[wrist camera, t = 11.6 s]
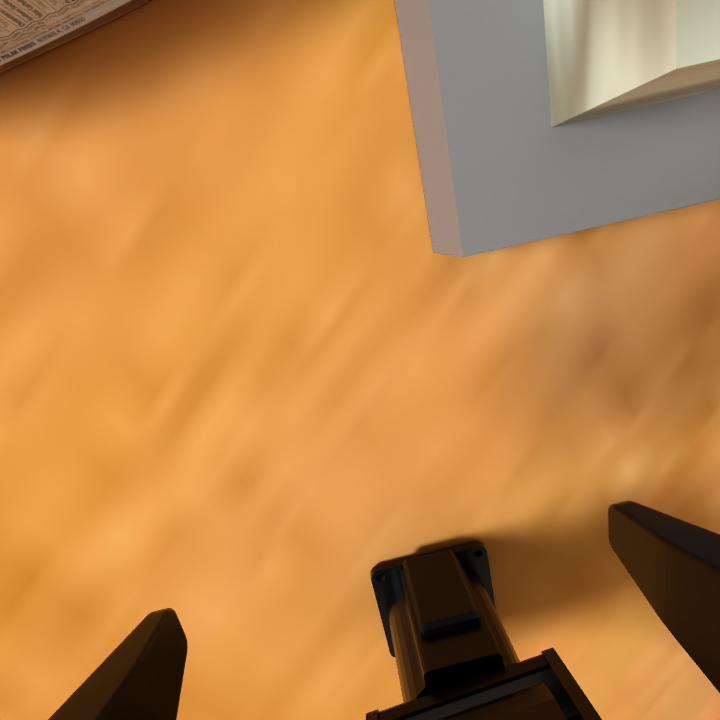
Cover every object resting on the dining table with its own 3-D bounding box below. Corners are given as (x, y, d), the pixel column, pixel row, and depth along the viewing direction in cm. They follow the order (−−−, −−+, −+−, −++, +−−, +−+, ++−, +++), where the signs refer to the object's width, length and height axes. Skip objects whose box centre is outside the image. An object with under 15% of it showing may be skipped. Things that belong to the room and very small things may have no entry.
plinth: (690, 194, 19) (785, 183, 15) (433, 252, 18) (463, 257, 15) (699, -151, 15) (827, -280, 11) (380, -86, 15) (402, -197, 11)
